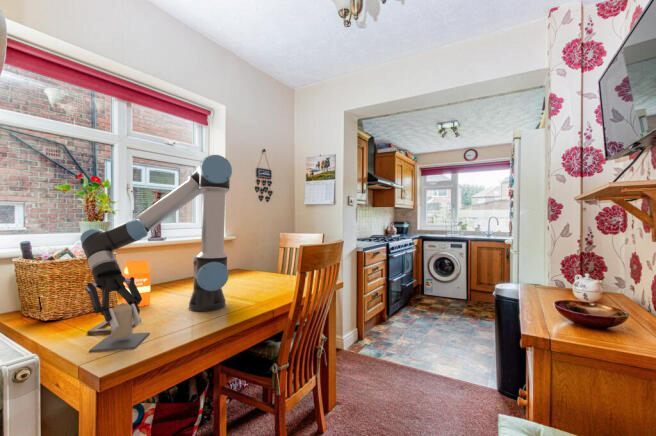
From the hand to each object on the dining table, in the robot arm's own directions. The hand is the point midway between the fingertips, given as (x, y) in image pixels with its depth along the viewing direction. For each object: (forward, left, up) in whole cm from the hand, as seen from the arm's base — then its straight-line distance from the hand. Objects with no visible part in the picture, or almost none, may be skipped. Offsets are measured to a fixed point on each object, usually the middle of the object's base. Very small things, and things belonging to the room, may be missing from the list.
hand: (127, 325), depth 93 cm
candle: (+3, -3, -4) cm, 6 cm away
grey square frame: (+11, -18, -6) cm, 21 cm away
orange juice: (+16, -49, -6) cm, 51 cm away
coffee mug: (+39, -35, -6) cm, 52 cm away
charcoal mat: (+3, -3, -6) cm, 7 cm away
